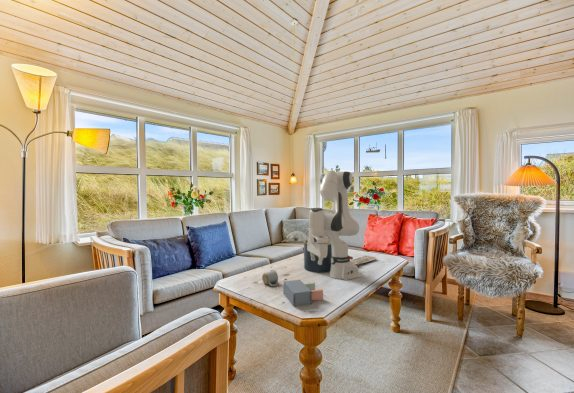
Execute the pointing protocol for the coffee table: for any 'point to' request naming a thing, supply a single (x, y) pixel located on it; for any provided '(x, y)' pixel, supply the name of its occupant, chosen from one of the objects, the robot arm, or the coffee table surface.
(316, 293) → the pink stick
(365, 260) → the newspaper
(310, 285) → the mint green upright slab
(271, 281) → the ceramic mug
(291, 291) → the grey rectangular block
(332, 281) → the coffee table surface
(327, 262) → the planter
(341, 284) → the coffee table surface
